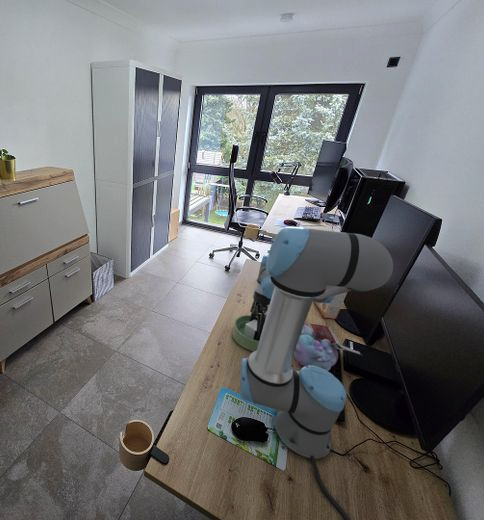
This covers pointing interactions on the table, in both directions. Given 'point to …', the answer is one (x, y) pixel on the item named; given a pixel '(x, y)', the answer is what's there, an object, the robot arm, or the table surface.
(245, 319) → the bowl
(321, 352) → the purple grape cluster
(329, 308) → the cracker box
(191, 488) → the table surface
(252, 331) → the white cube
